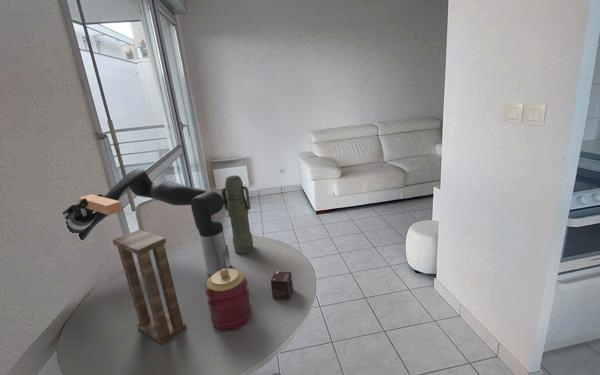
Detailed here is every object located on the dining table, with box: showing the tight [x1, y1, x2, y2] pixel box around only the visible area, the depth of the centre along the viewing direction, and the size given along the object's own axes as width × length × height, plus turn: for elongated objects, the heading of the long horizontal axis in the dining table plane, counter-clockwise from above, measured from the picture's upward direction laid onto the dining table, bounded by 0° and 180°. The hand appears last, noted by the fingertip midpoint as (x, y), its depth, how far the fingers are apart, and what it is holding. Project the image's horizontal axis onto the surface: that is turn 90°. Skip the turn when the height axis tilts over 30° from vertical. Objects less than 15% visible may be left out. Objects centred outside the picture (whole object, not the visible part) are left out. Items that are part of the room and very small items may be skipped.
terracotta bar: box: [77, 193, 124, 216], centre depth 98 cm, size 20×4×3 cm, turn 55°
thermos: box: [221, 175, 254, 255], centre depth 139 cm, size 9×12×35 cm
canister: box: [204, 268, 253, 332], centre depth 97 cm, size 13×13×18 cm
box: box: [270, 271, 294, 300], centre depth 108 cm, size 6×6×7 cm
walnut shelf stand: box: [112, 228, 187, 345], centre depth 94 cm, size 14×8×31 cm, turn 55°
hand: (93, 198), depth 100 cm, fingers closed on terracotta bar, 4 cm apart
